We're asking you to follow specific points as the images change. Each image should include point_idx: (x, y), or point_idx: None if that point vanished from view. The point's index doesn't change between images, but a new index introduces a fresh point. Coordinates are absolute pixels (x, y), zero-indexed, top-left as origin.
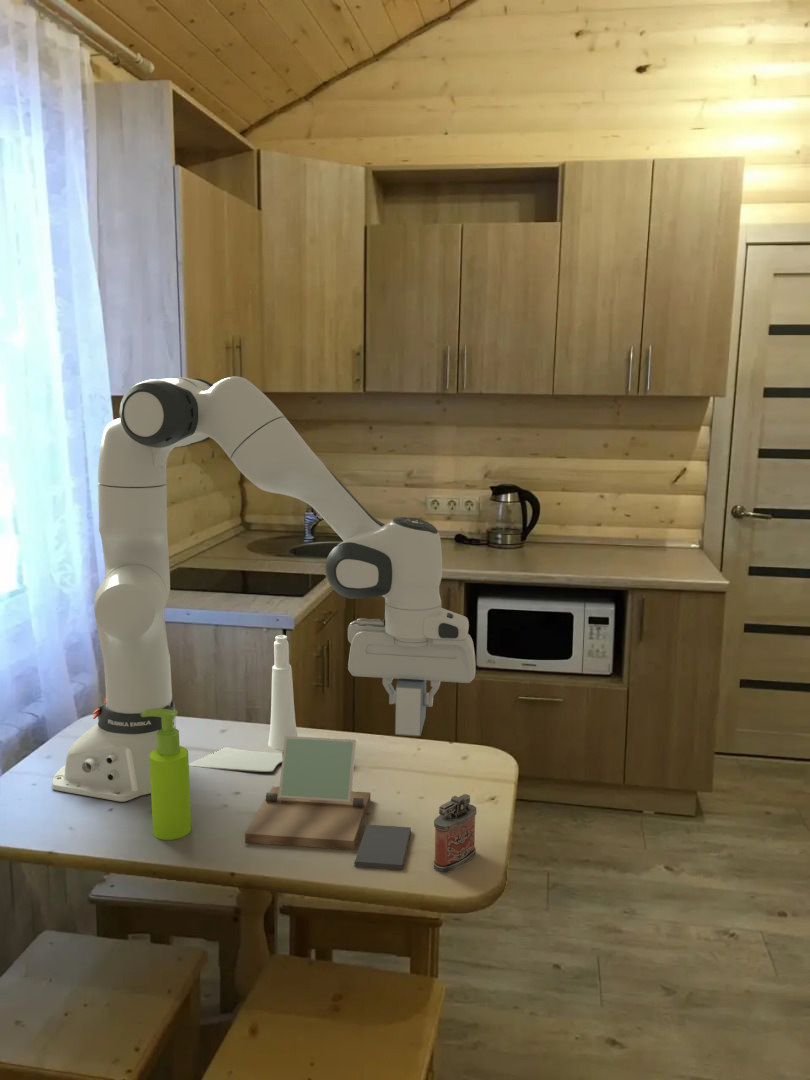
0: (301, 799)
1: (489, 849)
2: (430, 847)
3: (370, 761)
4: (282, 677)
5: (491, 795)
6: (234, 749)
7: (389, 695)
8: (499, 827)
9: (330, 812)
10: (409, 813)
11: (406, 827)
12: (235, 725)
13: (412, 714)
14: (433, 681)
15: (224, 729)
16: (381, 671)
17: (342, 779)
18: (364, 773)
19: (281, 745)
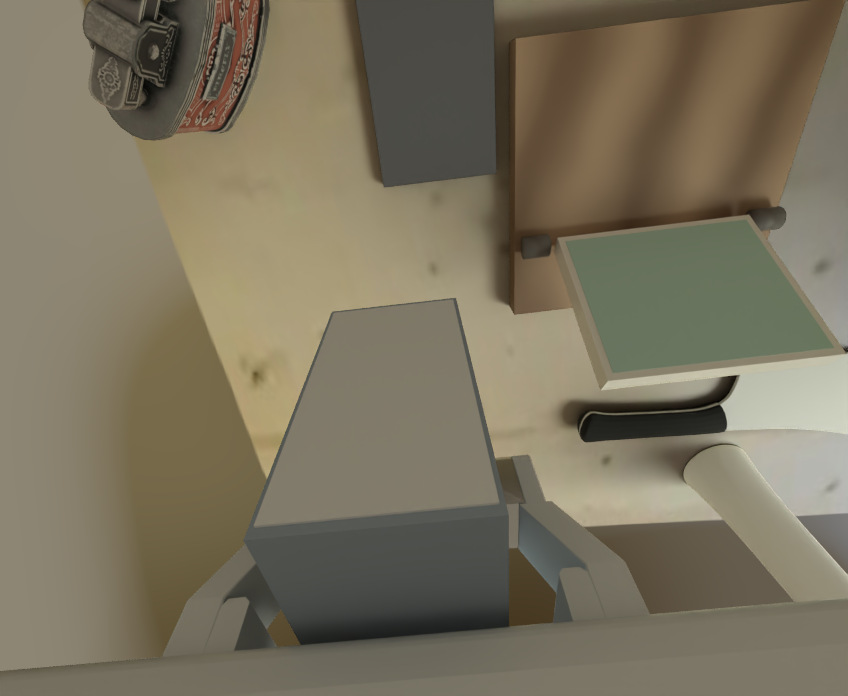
0: None
1: (168, 148)
2: (313, 117)
3: (535, 450)
4: None
5: (263, 386)
6: (820, 427)
7: (542, 493)
8: (191, 262)
9: (599, 193)
10: (410, 273)
11: (394, 183)
12: (806, 507)
13: (360, 367)
14: (210, 648)
15: (829, 491)
16: (714, 688)
17: (599, 277)
18: (540, 407)
19: (725, 454)
